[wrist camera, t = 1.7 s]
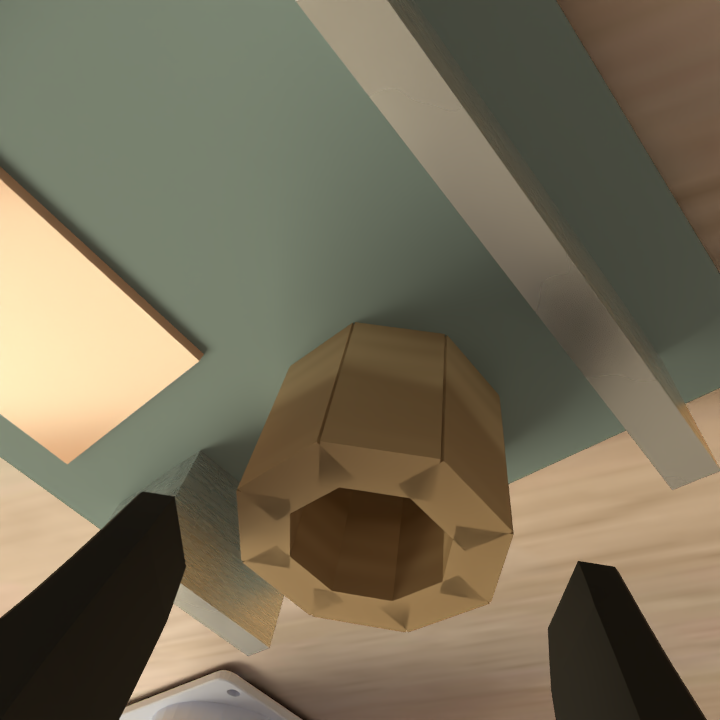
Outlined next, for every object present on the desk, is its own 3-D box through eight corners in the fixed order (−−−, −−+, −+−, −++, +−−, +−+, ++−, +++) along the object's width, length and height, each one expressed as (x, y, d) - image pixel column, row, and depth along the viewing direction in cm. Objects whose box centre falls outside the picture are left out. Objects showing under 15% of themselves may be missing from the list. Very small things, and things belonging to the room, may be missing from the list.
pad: (203, 354, 14) (199, 361, 14) (73, 457, 17) (67, 464, 16) (-12, 154, 12) (-23, 158, 12) (-122, 308, 15) (-132, 314, 14)
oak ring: (534, 436, 14) (558, 578, 11) (376, 513, 16) (355, 650, 13) (404, 286, 12) (385, 400, 9) (248, 395, 14) (186, 519, 11)
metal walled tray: (658, 354, 12) (721, 470, 9) (215, 577, 19) (171, 686, 16) (99, -455, 7) (-141, -743, 4) (-239, 236, 14) (-421, 305, 11)
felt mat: (766, 355, 12) (773, 363, 12) (222, 607, 20) (219, 615, 20) (71, -803, 6) (55, -837, 6) (-314, 216, 14) (-327, 220, 14)
